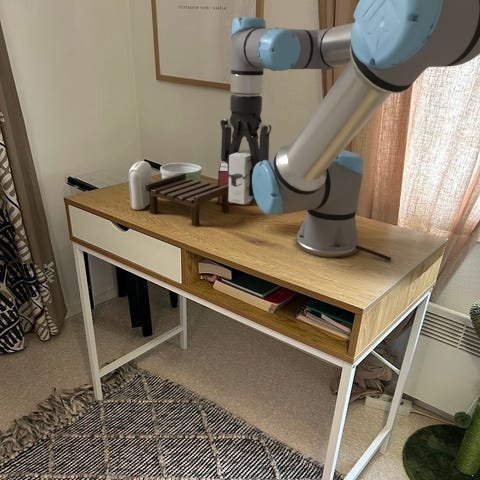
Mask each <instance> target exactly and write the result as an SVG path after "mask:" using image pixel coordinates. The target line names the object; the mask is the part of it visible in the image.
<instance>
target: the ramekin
mask: <svg viewBox="0 0 480 480" xmlns="http://www.w3.org/2000/svg"><path fill="white" fill-rule="evenodd" d="M159 169H160V174H161V179H164V178H167V177H170V176H174V175H177V174H180V173H186V179H187V178H191V179H193V181H195V180H199V181H201V178H202V177H201V176H202V172H203V170H202V166H201V165H198V164H195V163H189V162H171V163H166V164H163V165H161V166H160V168H159Z"/></svg>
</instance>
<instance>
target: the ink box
mask: <svg viewBox="0 0 480 480" xmlns="http://www.w3.org/2000/svg"><path fill="white" fill-rule="evenodd" d="M252 168H253V166H252V160H251V155H250V149H242V150H239V152H236V153H234V154H231V155H229V200H228V201H229V202H233V203H239V204H244V205H243V206H246V205H245V204H246V203H248V202H249V201H251V202H252V201H253V200H255V197H254V195H253V196H249V184H250V170H251V169H252Z"/></svg>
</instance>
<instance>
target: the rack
mask: <svg viewBox="0 0 480 480" xmlns="http://www.w3.org/2000/svg"><path fill="white" fill-rule="evenodd" d="M218 186H219V185H218V184H215V183H213V184H211V183H210V182H207V181H204V182H202V181H201V180H200V181H199V180H195V181H193V179H191V178H187V179H186V173H180V174H177V175H174V176H170V177H167V178H164V179H162V178H160V179H157V180H154V181H153V180H152V182H150V183H147V184H145V187H146V191H148V192H149V198H150V204H149V211H150V214H154V215H156V214H158V213H159V199H162V200H167V201H170V202H174V203H178V204H181V205H184V206H188V207H190V209H191V210H190V212H191V213H190V214H191V215H190V216H191V226H193V227H198V226H200V223H201V222H200V221H201V220H200V219H201V217H200V216H201V215H200V214H201V213H200V209H201V208H200V205H201V204H204V203H206V202H208V201H211V200H214V199H216V198H217V199H218V197H219V196H222V204H221V213H223V214H228V213H230V204H229V201H228V200H229V184H228V185H225V186H221V187H219V188H218ZM158 198H159V199H158Z"/></svg>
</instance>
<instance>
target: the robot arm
mask: <svg viewBox="0 0 480 480" xmlns="http://www.w3.org/2000/svg"><path fill="white" fill-rule="evenodd" d="M352 18H353V19H354V22H352V23H347V24H342V25H337V26H333V27H328V28H324V29H301V28H300V29H298V28H297V29H296V28H284V27H272V28H271V27H269V28H267V25H266V24H267V23H266V19H264V18H263V17H253V16H251V17H249V16H243V17H242V16H236V17H235V18H233V20H232V22H231V35H230V93H232V94H231V96H230V99H229V100H230V103H229V104H230V105H229V109H230V112H231V115H230V116H229V118H225V119H221V120H220V128H221V146H220V147H221V148H220V149H221V150H220V160H221V161H222V162H224V163H227V164H228V177H229V155H231V154H234V153H236V152H239V151H240V148H241V145H242V140H243V139H244V137H245V139H246V141H247V144H248V150H250V155H251V160H252V166H253V168H252V169H251V170H250V184H249V196H253V195H254V197H255V198H254V200H255V202H256V204H257V207H258V208H259V210H260V211H261V213H263V214H265V215H267V216H283V215H287V214H292V213H299V212H305V211H306V215H305V217H304V219H303V220H301V226H300V227H299V229H298V232H297V235H296V242H295V243H296V246H297V247H298V248H299V249H300V250H301V251H302V252H305V253H307V254H311V255H313V256H316V257H317V256H318V257H324V258H343V257H344V258H345V257H348V256H349V257H350V256H352V255H353V254H356V253H357V251H361V252H365V253H367V254H370V255H373V256H375V257H378V258H380V259H383V260H386V261H391V259H392V257H391V256H388V255H385V254H383V253H380V252H377V251H374V250H372V249H369V248H366V247H364V246H360V245H359V235H358V229H357V222H356V214H357V208H358V202H359V197H360V191H361V185H362V180H363V176H364V172H363V171H364V159H363V157H362V156H361V155H360V154H358V153H356V152H352V151H349V150H345V148H347V146H348V145H349V144H350V142H352V140H353V139H354V138H355V137H356V135H358V133H359V132H360V131H361V130H362V129H363V127H365V126H366V124H367V123H368V122H369V121H370V119H371V118H372V117H373V116H374V114H376V112H377V111H378V110H379V109H380V108H381V106H382V105H383V104H384V103H385V102H386V100H387V99H388V98H389V97H390V96H391V95H392V94H394V95H395V94H396V95H397V94H402V93H404V92H406V91H407V90H408V89H410V87H412V85H413V84H414V83H415V82H416V81H417V79H418V78H420V76H421V75H422V74H423V73H424V72H425V71H426V70H427V69H428V68H445V67H456V66H460V65H463V64H466V63H468V62H470V61H472V60H474V59H475V58H477V57H478V56H479V55H480V0H359V1H358V3H357V5H356V7H355V9H354V13H353V17H352ZM341 67H344V69H343V70H342V72H341V73H340V74H339V77H338V78H337V79H336V80H335V82H334V83H333V84H332V86H331V88H329V90H328V92H327V93H326V95H325V96H324V97H323V99H322V100H321V102H320V103H319V105H318V106H317V107H316V109H315V111H314V112H313V113H312V115H311V116H310V118H309V119H308V121H307V122H306V123H305V125H304V126H303V128H302V129H301V131H300V132H299V134H298V135H297V137H296V138H295V139H294V140H293V141H291V142H288V143H285V144H284V145H282V146H281V147H280V148H279V149H278V151H277V153H276V154H275V155H274V157H273V158H271V160H269V159H270V154H269V153H270V134H271V132H272V129H273V127H272V125H271V124H265V123H263V120H262V116H261V114H262V111H263V97H262V95H261V94H263V90H264V88H263V86H264V69H266V70H270V71H272V72H282V71H288V70H323V71H327V70H330V71H331V70H334V69H335V70H337V69H340V68H341ZM232 129H233V131H232ZM258 132H259V133H258Z"/></svg>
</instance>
